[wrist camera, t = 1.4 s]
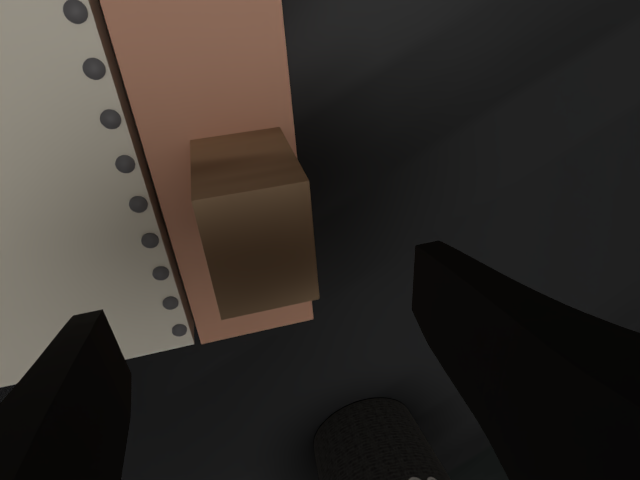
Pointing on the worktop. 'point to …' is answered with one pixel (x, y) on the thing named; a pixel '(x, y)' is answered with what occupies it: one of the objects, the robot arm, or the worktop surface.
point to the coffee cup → (375, 445)
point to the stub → (222, 155)
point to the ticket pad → (76, 193)
